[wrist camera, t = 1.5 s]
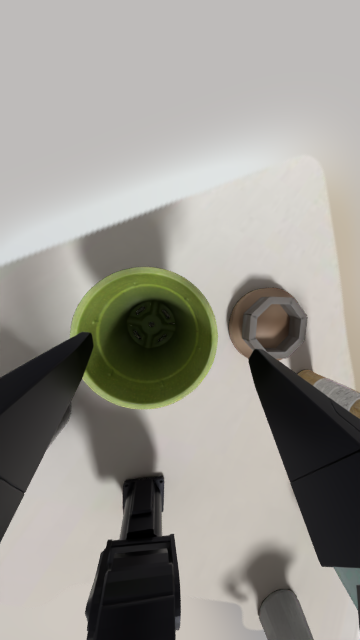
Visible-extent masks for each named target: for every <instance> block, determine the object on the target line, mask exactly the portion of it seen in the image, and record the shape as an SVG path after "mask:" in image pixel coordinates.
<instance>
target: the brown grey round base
mask: <svg viewBox="0 0 360 640" xmlns="http://www.w3.org/2000/svg"><path fill="white" fill-rule="evenodd" d="M306 316H307V315H306V314H305V312H304V311H303V310H302V308H301V307H300V306H299V304H298V302H297V301H296V300H295V298H294V297H293V296H292V295H291V294H289V293H288V292H286V291H284V290H282V289H278V288H263V289H257V290H254V291H251V292H249V293H248V294H246V295H244V296H243V297H242V298H241V299H240V300H239V301H238V302H237V304H236V305H235V307H234V309H233V310H232V313H231V316H230V320H229V334H230V338H231V341H232V343H233V345H234V347H235V348H236V349H237V350H238V351H239V352H240V353H241V354H242V355H244V356H245V357H247V358H248V359H249V357H250V355H251V354H252V352H253V350H254V349H263V350H264V351H266V352H267V353H268V354H270V355H271V356H273V357H274V358H275V359H277V360H278V361H279V360H281V359H283V358H288V357H289V356H290V355H291V354H292V353H293V352H294V351H295V350H296V349H297V348H298V347H299V346H300V345H301V344H302V343H303V342H304V341H303V340H305V334H306V325H307V317H306Z"/></svg>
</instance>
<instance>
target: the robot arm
mask: <svg viewBox="0 0 360 640" xmlns="http://www.w3.org/2000/svg"><path fill="white" fill-rule="evenodd" d="M93 347H94V344H93V337H92V334H91V333H90V332H81V333H79V334H77V335H75V336H73V337H72V338H70V339H68V340H66V341H65V342H63V343H61V344H59V345H57V346H56V347H54V348H52V349H50V350H48V351H47V352H45V353H43V354H41V355H40V356H38V357H36V358H34V359H32V360H31V361H29V362H27V363H25V364H24V365H22V366H20V367H18V368H16V369H15V370H13V371H11V372H9V373H7V374H6V375H4V376H2V377H0V542H1V540H2V538H3V536H4V534H5V532H6V530H7V528H8V526H9V524H10V522H11V520H12V518H13V516H14V514H15V512H16V510H17V508H18V506H19V504H20V502H21V500H22V498H23V496H24V493H25V492H26V490H27V488H28V486H29V484H30V482H31V480H32V478H33V476H34V474H35V472H36V470H37V468H38V466H39V464H40V462H41V460H42V458H43V456H44V454H45V452H46V450H47V448H48V446H49V444H50V442H51V440H52V438H53V436H54V434H55V432H56V430H57V428H58V426H59V424H60V422H61V420H62V418H63V416H64V414H65V412H66V410H67V408H68V406H69V404H70V402H71V400H72V398H73V396H74V394H75V392H76V390H77V388H78V386H79V384H80V382H81V380H82V377H83V375H84V373H85V370H86V367H87V364H88V362H89V359H90V356H91V353H92V351H93ZM249 365H250V369H251V373H252V377H253V381H254V384H255V388H256V391H257V393H258V396H259V399H260V401H261V404H262V407H263V410H264V412H265V415H266V418H267V421H268V423H269V426H270V429H271V431H272V434H273V437H274V440H275V442H276V445H277V448H278V450H279V453H280V456H281V459H282V461H283V464H284V467H285V470H286V472H287V475H288V478H289V480H290V482H291V486H292V489H293V492H294V494H295V497H296V500H297V503H298V505H299V508H300V511H301V513H302V516H303V519H304V522H305V524H306V527H307V530H308V533H309V535H310V538H311V541H312V543H313V546H314V549H315V552H316V554H317V557H318V559H319V562H320V564H321V566H322V567H342V568H360V419H359V418H358V417H356V416H355V415H353V414H352V413H351V412H349V411H348V410H346V409H345V408H343V407H342V406H341V405H339V404H338V403H336V402H335V401H334V400H332V399H331V398H329V397H328V396H327V395H325V394H324V393H322V392H321V391H320V390H318V389H317V388H316V387H314V386H313V385H311V384H310V383H309V382H307V381H306V380H304V379H303V378H302V377H300V376H299V375H298V374H296V373H295V372H293V371H292V370H291V369H289V368H288V367H286V366H285V365H284V364H282V363H281V362H280V361H278V360H277V359H275V358H274V357H273V356H271V355H270V354H268V353H267V352H266V351H264V350H263V349H254V350H253V352H252V354H251V355H250V357H249ZM163 505H164V477H163V476H159V477H150V478H142V479H133V480H126V481H125V482H124V485H123V521H122V527H121V533H120V539H119V540H113V541H112V540H108V541H107V546H106V548H105V549H104V551H103V552H102V553H101V555H100V559H99V564H98V568H97V572H96V576H95V579H94V583H93V586H92V589H91V592H90V596H89V599H88V602H87V606H86V611H85V615H86V618H87V621H88V626H87V631H88V634H87V640H175V631H176V630H179V628H180V615H181V614H180V613H181V605H180V604H181V603H180V601H181V600H180V580H179V570H178V562H177V554H176V547H175V539H174V534H170V535H168V536H162V512H163ZM356 588H357V601H358V614H359V628H360V585H356Z"/></svg>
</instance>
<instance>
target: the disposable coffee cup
mask: <svg viewBox="0 0 360 640" xmlns="http://www.w3.org/2000/svg"><path fill="white" fill-rule="evenodd" d="M334 569H335V571H336V573H337V574H338V576H339V578H340V580H341V581H342V583H343V585H344V587H345V588H346V590H347V592H348V594H349V596H350V597H351V599H352V601H353V603H354V604H355V606H356V608H357V610H358V601H357V588H356V585H360V568H342V567H334Z"/></svg>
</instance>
